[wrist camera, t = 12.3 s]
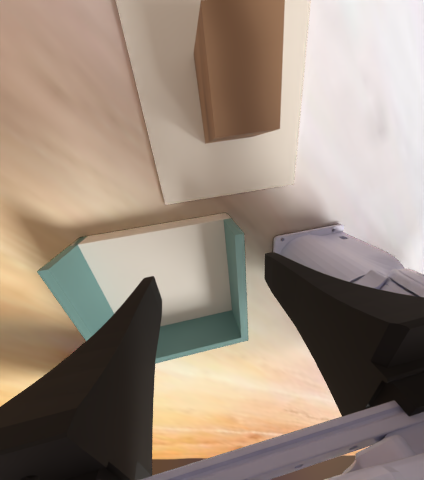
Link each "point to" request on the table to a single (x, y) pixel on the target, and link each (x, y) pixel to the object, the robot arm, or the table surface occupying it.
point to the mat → (189, 111)
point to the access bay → (160, 281)
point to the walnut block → (239, 67)
